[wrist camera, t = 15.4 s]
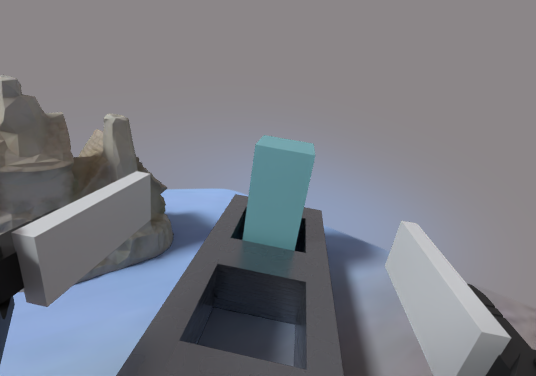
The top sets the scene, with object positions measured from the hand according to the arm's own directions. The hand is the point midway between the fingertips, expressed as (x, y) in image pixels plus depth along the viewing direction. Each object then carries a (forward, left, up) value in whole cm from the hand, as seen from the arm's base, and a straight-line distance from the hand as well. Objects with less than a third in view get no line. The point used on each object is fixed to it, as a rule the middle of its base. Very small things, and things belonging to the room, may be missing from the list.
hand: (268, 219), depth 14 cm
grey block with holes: (0, -5, -10) cm, 11 cm away
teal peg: (0, -10, -10) cm, 14 cm away
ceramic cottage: (+19, -9, -10) cm, 23 cm away
